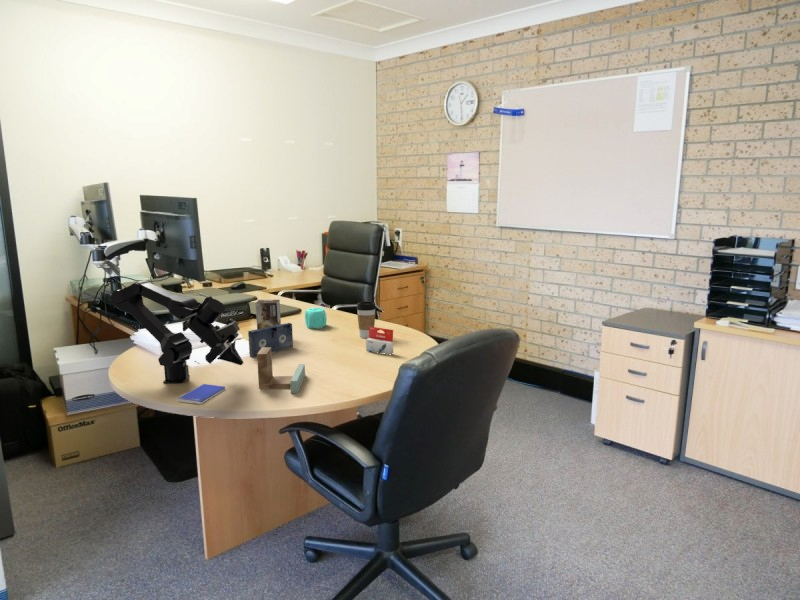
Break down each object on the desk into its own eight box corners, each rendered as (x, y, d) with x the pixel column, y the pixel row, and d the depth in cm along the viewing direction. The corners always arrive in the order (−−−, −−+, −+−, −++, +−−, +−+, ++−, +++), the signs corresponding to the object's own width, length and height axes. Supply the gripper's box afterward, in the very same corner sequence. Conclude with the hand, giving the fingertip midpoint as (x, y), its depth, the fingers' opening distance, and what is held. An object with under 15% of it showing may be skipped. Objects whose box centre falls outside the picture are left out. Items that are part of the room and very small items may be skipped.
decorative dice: (305, 325, 249) (304, 308, 247) (321, 323, 252) (321, 306, 251) (309, 329, 242) (309, 312, 240) (326, 327, 245) (326, 310, 244)
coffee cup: (353, 337, 229) (352, 303, 226) (361, 332, 236) (361, 299, 233) (371, 340, 226) (371, 305, 223) (379, 334, 233) (379, 301, 230)
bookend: (258, 388, 172) (256, 353, 170) (263, 380, 179) (262, 347, 177) (293, 388, 172) (291, 353, 170) (297, 380, 179) (295, 347, 177)
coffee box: (281, 335, 232) (280, 299, 228) (279, 340, 225) (277, 302, 222) (260, 336, 231) (258, 299, 228) (257, 340, 225) (255, 302, 222)
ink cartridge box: (390, 356, 205) (390, 331, 203) (365, 351, 210) (365, 327, 208) (393, 354, 207) (393, 329, 205) (369, 350, 212) (368, 326, 210)
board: (290, 393, 168) (290, 381, 167) (299, 375, 184) (298, 364, 183) (297, 393, 168) (296, 381, 167) (305, 375, 184) (304, 364, 183)
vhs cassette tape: (290, 346, 217) (288, 322, 215) (294, 347, 215) (293, 323, 213) (248, 356, 205) (247, 330, 203) (252, 357, 203) (251, 332, 200)
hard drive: (200, 401, 159) (225, 386, 171) (177, 397, 162) (203, 383, 173) (201, 405, 160) (225, 391, 171) (177, 402, 162) (203, 388, 174)
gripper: (213, 321, 161) (252, 356, 164) (231, 307, 180) (265, 339, 182) (188, 346, 163) (227, 380, 166) (208, 329, 181) (243, 361, 184)
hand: (242, 364), depth 174 cm, fingers closed
